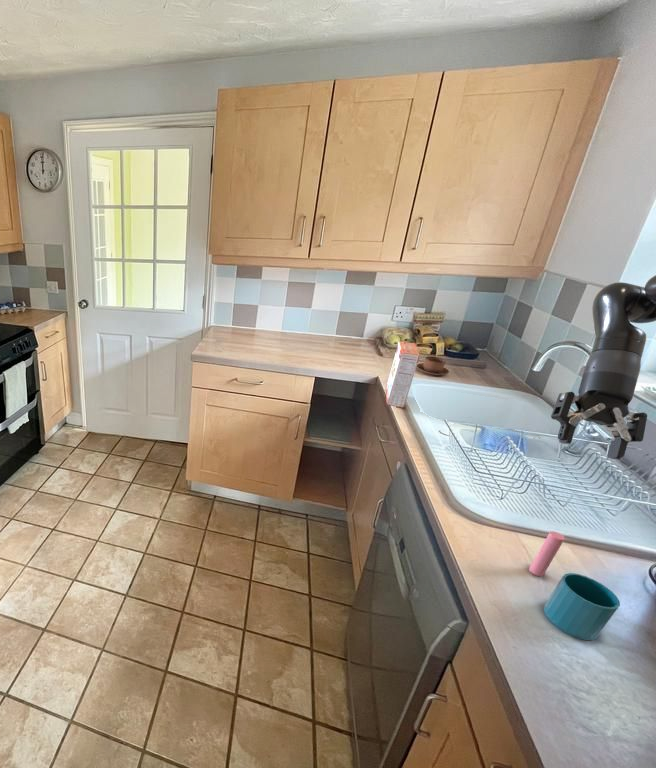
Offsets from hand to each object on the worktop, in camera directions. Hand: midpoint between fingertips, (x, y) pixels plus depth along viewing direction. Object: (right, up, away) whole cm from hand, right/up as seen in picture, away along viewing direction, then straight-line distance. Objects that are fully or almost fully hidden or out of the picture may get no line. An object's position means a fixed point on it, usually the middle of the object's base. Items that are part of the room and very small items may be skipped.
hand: (588, 450), depth 84 cm
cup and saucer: (+36, +18, +98) cm, 106 cm away
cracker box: (+4, +7, +73) cm, 73 cm away
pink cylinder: (-10, -25, +1) cm, 27 cm away
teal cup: (-13, -29, -9) cm, 33 cm away
